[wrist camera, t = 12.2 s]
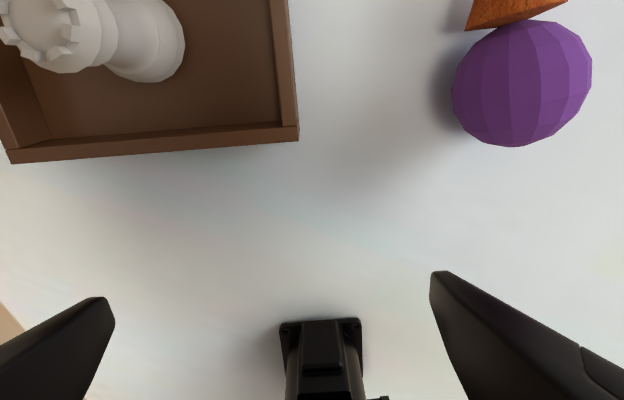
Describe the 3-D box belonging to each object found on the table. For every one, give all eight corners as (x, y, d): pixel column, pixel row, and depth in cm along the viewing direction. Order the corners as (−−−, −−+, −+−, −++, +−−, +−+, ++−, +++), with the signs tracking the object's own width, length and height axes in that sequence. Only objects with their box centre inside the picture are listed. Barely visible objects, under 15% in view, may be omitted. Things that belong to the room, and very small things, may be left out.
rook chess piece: (170, 98, 19) (80, 118, 11) (92, 54, 18) (-60, 44, 10) (201, 23, 17) (123, -11, 10) (119, -29, 16) (-35, -109, 9)
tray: (299, 130, 20) (298, 141, 17) (52, 150, 20) (10, 164, 17) (277, -109, 16) (271, -148, 13) (-38, -80, 16) (-113, -112, 13)
